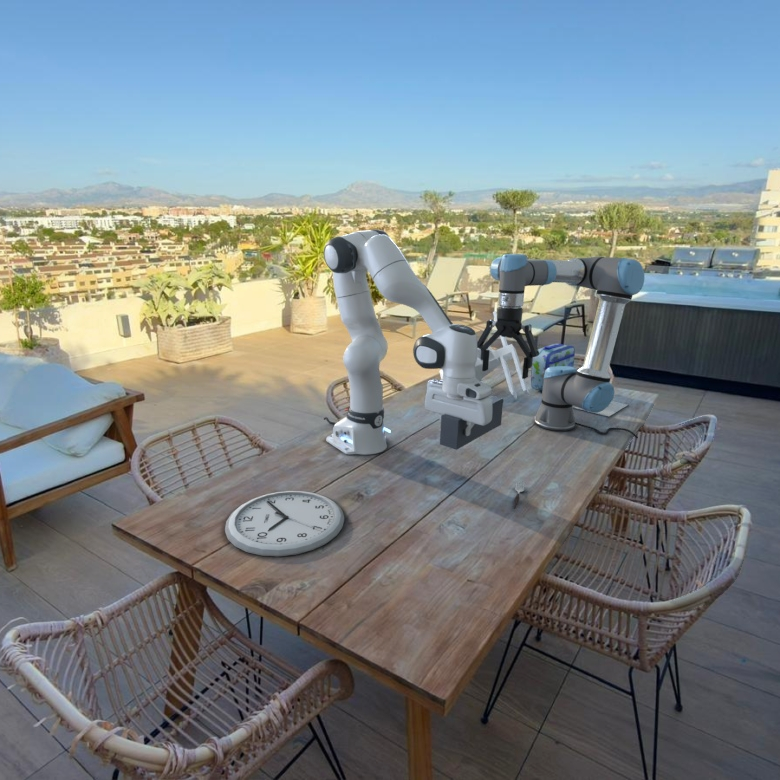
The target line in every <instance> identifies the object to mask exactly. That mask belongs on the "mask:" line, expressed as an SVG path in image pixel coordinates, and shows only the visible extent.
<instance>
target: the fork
mask: <svg viewBox="0 0 780 780" xmlns="http://www.w3.org/2000/svg"><path fill="white" fill-rule="evenodd" d="M516 480H517V481H516V486H515V488H514V489H515V491H516V492H517V494H516V496H515V498H514V506H513V509H514V510H516V507H517V506H518V503H519V502H520V493H523V492H525V490H526V482H524V479H522V480H521V478H520V479H516Z"/></svg>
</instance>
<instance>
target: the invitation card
mask: <svg viewBox="0 0 780 780" xmlns="http://www.w3.org/2000/svg"><path fill="white" fill-rule="evenodd" d="M628 406H629V404H627V403H623V402H618V401H614V400H612V401H611V403H610V404H609V405H608V407H606V408H605V409H604V410H603V411H601V412H597V413H594V412H590V411H587V413H593V414H596V415H600V416H604V417H608V418H609V417H611V416H613V415H614V414H616V413H617V412H619V411H621V410H623V409H624V408H626V407H628ZM573 409H575V410H581V411H584V412H586V411H585V410H583V409H581V408H579V407H576V406H574V407H573Z"/></svg>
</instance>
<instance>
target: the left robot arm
mask: <svg viewBox="0 0 780 780" xmlns="http://www.w3.org/2000/svg"><path fill="white" fill-rule="evenodd" d="M323 259H324V263H325V265H326V267H327V268H328V269H329V270H330V271H331V272H332V281H333V282H332V283H333V290H334V295H335V299H336V303H337V308H338V311H339V316H340V320H341V322H342V324H343V325H344V326H345V328H346V330H347V332H348V334H349V337H350V339H351V342H350V343H349V344H348V345H347V346H346V348H345V350H344V352H343V356H342V362H343V366H344V367H345V369H346V374H347V378H348V384H349V406H348V407H344V412H347V413H346V416H344V417H343V418H341V419H338V421H337V422H334V421H332V420H331V421H330V419H329V417H327V416H325V417H323V420H324V421H325V420H326V422H327V423H328V424H330V425H333V428H332V433H331V434H329V435H328V436H327V437H326V438H325V441H326V442H327V443H328V444H330V446H333V447H334V448H336V449H337V450H339V451H340V452H342V453H343V454H345V455H347V456H348V455H350V456H352V455H363V456H365V455H366V456H367V455H376V454H379V453H382V452H384V451H386V449H387V447H388V445H387V444H388V443H387V436H386V434H385V432H387V433H389V434H391V433H392V432H391V429H389V428H387V427H385V423H384V422H385V421H384V419H385V408H384V405H383V403H384V401H383V400H384V385H383V383H382V379H381V372H380V366H381V362H382V361H384V359H385V358H386V356H387V354H388V349H389V348H388V347H389V346H388V345H389V343H388V340H387V338H386V337H385V335H384V334H383V333H384V332H383V330H382V327H381V325H380V323H379V320H378V317H377V315H376V311H375V308H374V307H375V306H374V303H373V299H372V294H371V290H370V286H369V282H368V279H367V278H368V277H367V274H369V275H370V277H371V279H372V280H373V283H374V285H375V287H376V289H377V290H378V292H379V293H380V295H382V297H383V298H384V299H385V300H387V301H389V302H391V303H395V304H399V305H403V306H406V307H409V308H411V309H413V310H415V311H416V312H417V313H418V314H419V315H420V316H421V318H422V319H423V320H424V322H425V323H426V325H427V326H428V328H429V329H430V331H431V332H432V333H427V334H424V335H422V336H420V337H418V338H417V339H416V340H415V342H414V344H413V349H412V354H413V358H414V361H415V363H417V365H418V366H419V367H421V368H422V369H427V370H437V369H438V370H439V369H440V370H441V369H442V370H443V381H442V380H441V379H439V380H438V379H436V378H431V379H429V380H428V381H427V383H426V392H425V393H426V394H425V398H424V408H425V410H426V411H428V412H432V413H435V414H438V418H439V421H440V422H441V416H442V415H444V414H447V415H450V416H454V417H458V418H461V419H462V420H464V421H467V425H468V427H467V428H465V429H463V435H465V436H469V435H470V431H471V428H472V427H473V426H474V424H479V425H482V426H484V425H486V424H488V423H489V422H491V420H492V400H491V398H490V397H489V395H491V394H492V392H493V391H492V387H491V386H489V385H488V384H487V383H484V382H482V381H479V380H478V379H476V373H475V364H476V361H477V342H478V337H477V332H476V331H475V329H473V328H472V327H470V326H468V325H464V324H459V323H453V322H452V321H451V319H450V318H449V316H448V314H447V313H446V311H444V308H442V306H441V305H440V303H439V302H438V300H437V299H436V297H435V296H434V295H433V293H432V292H431V291H430V289H429V288H428V287H427V286H426V285H425V284H424V283H423V282H422V281H421V280H420V279H419V277H418V275H416V273H415V272H414V270H413V269H412V268H411V265H410V264H409V263H408V261H407V259H406V257H405V255H404V254H403V252H402V251H401V249H400V248H399V247H398V245H397V244H396V243H395V242H394V241H393V239H392V238H391V237H390V235H389V234H388V233H387V232H386V231H385V230H381V229H374V228H373V229H369V230H359V231H353V232H352V233H351V232H350V233H348V234H344V235H341V236H335V237H333V238H330V239H329V240H328V241H326V242H325V245H324V249H323Z"/></svg>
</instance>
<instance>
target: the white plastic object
mask: <svg viewBox="0 0 780 780" xmlns="http://www.w3.org/2000/svg"><path fill="white" fill-rule="evenodd" d="M492 315H493V319H494V321H497V311H496V310H495V311H492ZM499 338H500V342H501V345H502V347H500V348H498V349H496V350H495V349H493V348H492V347H491V345H490V346H489V347H488V349H487V350H489V364H488V370H486V371H482V366H483V360H481V349H479V348H477V361H476V364H475V373H476V379H478V380H479V381H481V382H482V381H484V378H485V377H486V376H487V375H489V374H490V373H492V372H494V371H495V370H496V369H497V368H499V367H500V366H502V370H503V373H504V376H505V380H506V383H507V386H508V390H509V393H510V394H511V395H512V397H513V398H514V399H515V400H517V392H516V391H517V390H516V388H515V385H514V381H513V378H512V375H511V371H510V369H509V365H508V361H510V360H513V363H514V366H515V369H516V372H517V376H518V380H519V382H520V385H521V389H522V391H523V393H524V395H525V396H526V397H528V396H531V395H530V390H529V388H528V387H529V386H528V384H527V381H526V378H525V379H522V374H523V367H522V366H521V362H520V359H519V355H518V352H517V349H516V347H515V346H514V345H513V343H511V344H508V341H507V337H502V336H501V335H500V336H499ZM484 344H485V343H484ZM484 344H483V345H484ZM438 370H439V369H438ZM438 372H439V376H440V381H443V370H442V369H440V370H439V371H438Z"/></svg>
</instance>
